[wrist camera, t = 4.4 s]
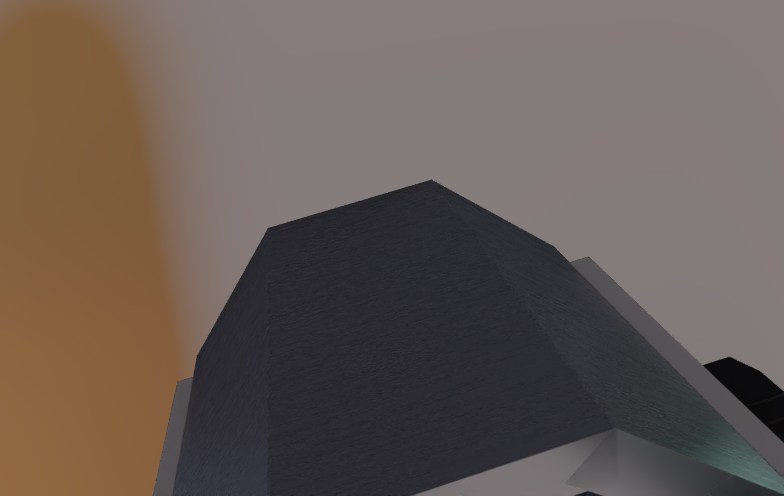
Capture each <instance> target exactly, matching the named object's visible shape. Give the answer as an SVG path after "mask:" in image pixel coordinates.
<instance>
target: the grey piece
mask: <svg viewBox="0 0 784 496" xmlns="http://www.w3.org/2000/svg"><path fill="white" fill-rule="evenodd" d="M172 496H784V478H783V477H782V476H781V475H780V474H779V473H778V472H777V471H776V470H775V469H774V468H773V467H772V466H771V465H770V464H769V463H768V462H767V461H766V460H765V459H764V458H763V457H762V456H761V455H760V454H759V453H758V452H757V451H756V450H755V449H754V448H753V447H752V446H751V445H750V444H749V443H748V442H747V441H746V440H745V439H744V438H743V437H742V436H741V435H740V434H739V433H738V432H737V430H736V429H735V428H734V427H733V426H732V425H731V424H730V423H729V422H728V421H727V420H726V419H725V418H724V417H723V416H722V415H721V414H720V413H719V412H718V411H717V410H716V409H715V408H714V407H713V406H712V405H711V404H710V403H709V402H708V401H707V400H706V399H705V398H704V397H703V396H702V395H701V394H700V393H699V392H698V391H697V390H696V389H695V388H694V387H693V386H692V385H691V384H690V383H689V382H688V381H687V380H686V379H685V378H684V377H683V376H682V375H681V374H680V373H679V372H678V371H677V370H676V369H675V368H674V367H673V366H672V365H671V364H670V363H669V362H668V361H667V360H666V359H665V358H664V357H663V356H662V355H661V354H660V353H659V352H658V351H657V350H656V349H655V348H654V347H653V346H652V345H651V344H650V343H649V342H648V341H647V340H646V339H645V338H644V337H643V336H642V335H641V334H640V333H639V332H638V331H637V330H636V329H635V328H634V327H633V326H632V325H631V324H630V323H629V322H628V321H627V320H626V319H625V318H624V317H623V316H622V315H621V314H620V313H619V312H618V311H617V310H616V309H615V308H614V307H613V306H612V305H611V304H610V303H609V302H608V301H607V300H606V299H605V298H604V297H603V296H602V295H601V294H600V293H599V292H598V291H597V290H596V289H595V288H594V287H593V286H592V285H591V284H590V283H589V282H588V280H587V279H586V278H585V277H584V276H583V275H582V274H581V273H580V272H579V271H578V270H577V269H576V268H575V267H574V266H573V265H572V264H571V263H570V262H569V261H567V259H566V258H565V257H564V256H563V255H562V254H561V253H560V252H559V251H558V250H557V249H556V248H555V247H554V246H552V245H550V244H548V243H546V242H545V241H543V240H541V239H539V238H537V237H535V236H534V235H532V234H530V233H528V232H526V231H524V230H523V229H520V228H519V227H517V226H515V225H513V224H512V223H510V222H508V221H506V220H504V219H502V218H501V217H499V216H497V215H495V214H493V213H491V212H490V211H488V210H486V209H484V208H482V207H480V206H479V205H477V204H475V203H473V202H471V201H469V200H467V199H466V198H464V197H462V196H460V195H459V194H457V193H455V192H453V191H451V190H449V189H448V188H446V187H444V186H442V185H440V184H438V183H437V182H435V181H433V180H429V181H426V182H423V183H419V184H415V185H412V186H409V187H405V188H402V189H399V190H396V191H392V192H388V193H385V194H382V195H378V196H375V197H371V198H368V199H365V200H362V201H358V202H355V203H352V204H348V205H344V206H341V207H338V208H334V209H331V210H328V211H324V212H321V213H318V214H314V215H311V216H307V217H304V218H301V219H297V220H294V221H290V222H287V223H284V224H280V225H277V226H273V227H270V228H268V229H267V231H266V233H265V235H264V237H263V238H262V240H261V242H260V244H259V246H258V247H257V249H256V251H255V253H254V255H253V256H252V258H251V260H250V262H249V264H248V266H247V267H246V269H245V271H244V273H243V275H242V276H241V278H240V280H239V282H238V283H237V285H236V287H235V289H234V291H233V292H232V294H231V296H230V298H229V300H228V301H227V303H226V305H225V307H224V309H223V310H222V312H221V314H220V316H219V318H218V319H217V321H216V323H215V325H214V327H213V328H212V330H211V332H210V334H209V335H208V337H207V339H206V341H205V343H204V344H203V346H202V348H201V350H200V352H199V354H198V355H197V359H196V364H195V370H194V376H193V381H192V387H191V392H190V398H189V404H188V409H187V415H186V421H185V426H184V432H183V437H182V443H181V449H180V454H179V460H178V466H177V471H176V477H175V482H174V488H173V494H172Z"/></svg>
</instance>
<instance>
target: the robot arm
mask: <svg viewBox="0 0 784 496" xmlns="http://www.w3.org/2000/svg"><path fill="white" fill-rule="evenodd" d="M570 263H571V264H572V265H573V266H574V267H575V268H576V269H577V270H578V271H579V272H580V273H581V274H582V275H583V276H584V277H585V278H586V279H587V280H588V282H589V283H590V284H591V285H592V286H593V287H594V288H595V289H596V290H597V291H598V292H599V293H600V294H601V295H602V296H603V297H604V298H605V299H606V300H607V301H608V302H609V303H610V304H611V305H612V306H613V307H614V308H615V309H616V310H617V311H618V312H619V313H620V314H621V315H622V316H623V317H624V318H625V319H626V320H627V321H628V322H629V323H630V324H631V325H632V326H633V327H634V328H635V329H636V330H637V331H638V332H639V333H640V334H641V335H642V336H643V337H644V338H645V339H646V340H647V341H648V342H649V343H650V344H651V345H652V346H653V347H654V348H655V349H656V350H657V351H658V352H659V353H660V354H661V355H662V356H663V357H664V358H665V359H666V360H667V361H668V362H669V363H670V364H671V365H672V366H673V367H674V368H675V369H676V370H677V371H678V372H679V373H680V374H681V375H682V376H683V377H684V378H685V379H686V380H687V381H688V382H689V383H690V384H691V385H692V386H693V387H694V388H695V389H696V390H697V391H698V392H699V393H700V394H701V395H702V396H703V397H704V398H705V399H706V400H707V401H708V402H709V403H710V404H711V405H712V406H713V407H714V408H715V409H716V410H717V411H718V412H719V413H720V414H721V415H722V416H723V417H724V418H725V419H726V420H727V421H728V422H729V423H730V424H731V425H732V426H733V427H734V428H735V429H736V430H737V432H738V433H739V434H740V435H741V436H742V437H743V438H744V439H745V440H746V441H747V442H748V443H749V444H750V445H751V446H752V447H753V448H754V449H755V450H756V451H757V452H758V453H759V454H760V455H761V456H762V457H763V458H764V459H765V460H766V461H767V462H768V463H769V464H770V465H771V466H772V467H773V468H774V469H775V470H776V471H777V472H778V473H779V474H780V475H781V476H782V477H783V478H784V391H783V390H781V389H780V388H779V387H778V386H777V385H776V384H774V383H773V382H772V381H771V380H770V379H769V378H767V377H766V376H765V375H764V374H763V373H762V372H760V371H759V370H756V369H754V368H752V367H750V366H748V365H746V364H743V363H742V362H739V361H737V360H735V359H733V358H731V357H727V358H724V359H721V360H718V361H714V362H711V363H708V364H705V365H701V363H699V362H698V361H697V360H696V359H695V358H694V357H693V356H692V355H691V354H690V353H689V352H688V351H687V350H686V349H685V348H684V347H683V346H682V345H681V344H680V343H679V342H678V341H676V340H675V339H674V338H673V337H672V336H671V335H670V334H669V333H668V332H667V331H666V330H665V329H664V328H663V327H662V326H661V325H660V324H659V323H658V322H657V321H656V320H654V319H653V318H652V317H651V316H650V315H649V314H648V313H647V312H646V311H645V310H644V309H643V308H642V307H641V306H640V305H639V304H638V303H637V302H636V301H635V300H633V299H632V298H631V297H630V296H629V295H628V294H627V293H626V292H625V291H624V290H623V289H622V288H621V287H620V286H619V285H618V284H617V283H616V282H615V281H614V280H613V279H612V278H611V277H609V276H608V275H607V274H606V273H605V272H604V271H603V270H602V269H601V268H600V267H599V266H598V265H597V264H596V263H595V262H594V261H593V260H592V259H591V258H590V257H586V258H582V259H579V260H576V261H572V262H570ZM192 381H193V377H191V378H188V379H185V380H182V381H178V382H177V386H176V391H175V395H174V400H173V404H172V409H171V414H170V418H169V423H168V428H167V432H166V437H165V442H164V446H163V451H162V455H161V460H160V465H159V469H158V474H157V478H156V483H155V488H154V492H153V496H172V494H173V488H174V482H175V477H176V471H177V466H178V460H179V454H180V449H181V443H182V437H183V432H184V426H185V421H186V415H187V409H188V404H189V398H190V392H191V387H192Z"/></svg>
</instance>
